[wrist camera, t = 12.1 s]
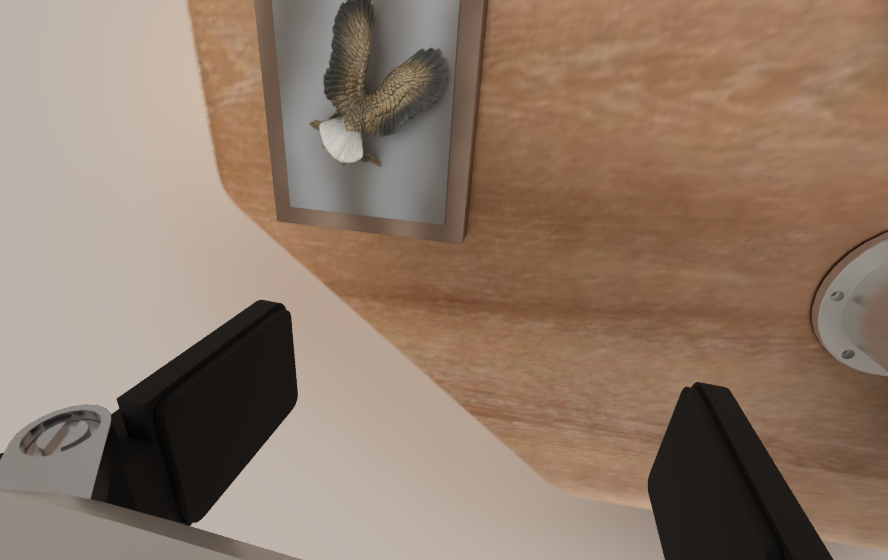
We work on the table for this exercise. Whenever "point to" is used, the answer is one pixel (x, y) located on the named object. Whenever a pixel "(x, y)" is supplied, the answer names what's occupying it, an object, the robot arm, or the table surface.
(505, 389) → the table surface
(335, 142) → the eagle figurine
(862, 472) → the table surface
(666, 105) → the table surface
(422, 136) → the picture frame
